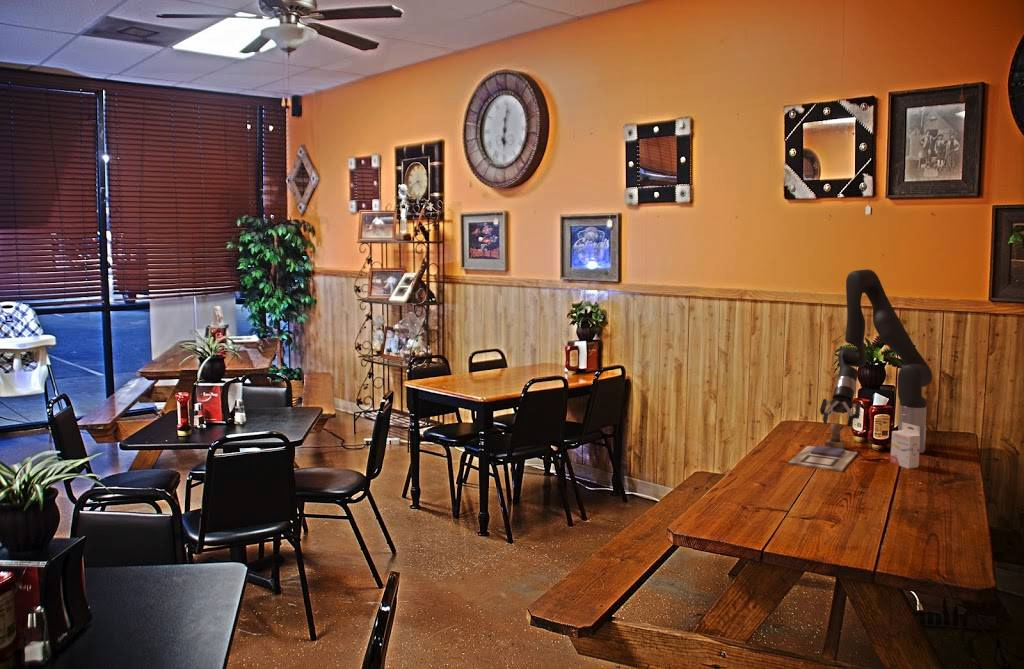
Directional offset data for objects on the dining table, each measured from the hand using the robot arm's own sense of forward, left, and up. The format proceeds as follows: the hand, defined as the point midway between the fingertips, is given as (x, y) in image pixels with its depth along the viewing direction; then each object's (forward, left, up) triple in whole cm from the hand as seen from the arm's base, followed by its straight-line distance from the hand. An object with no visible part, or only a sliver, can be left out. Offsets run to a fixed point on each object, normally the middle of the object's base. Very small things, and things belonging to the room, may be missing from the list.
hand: (836, 424), depth 323 cm
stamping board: (0, +21, -9) cm, 23 cm away
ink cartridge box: (-26, +14, -9) cm, 31 cm away
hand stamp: (0, +2, -9) cm, 9 cm away
